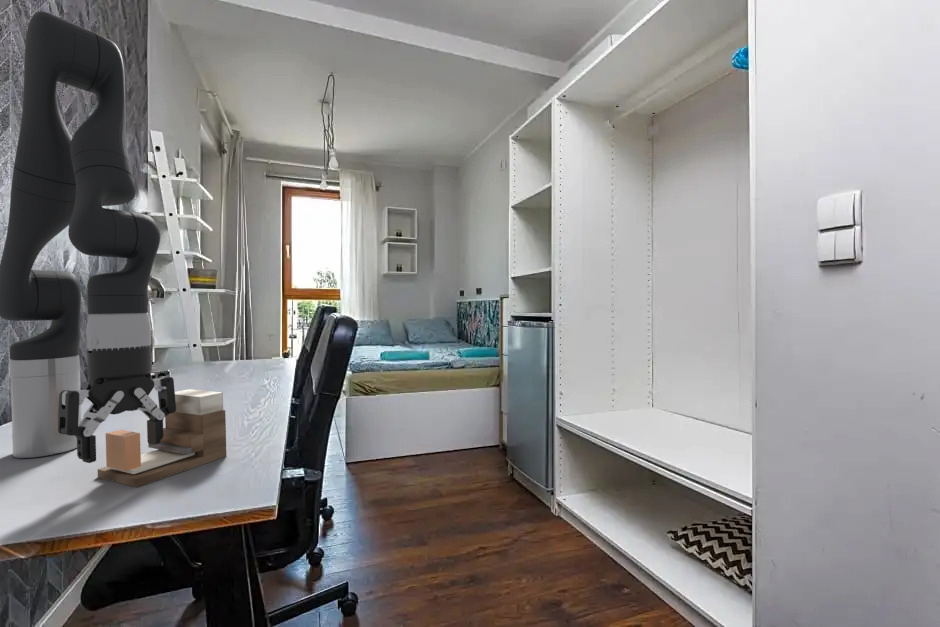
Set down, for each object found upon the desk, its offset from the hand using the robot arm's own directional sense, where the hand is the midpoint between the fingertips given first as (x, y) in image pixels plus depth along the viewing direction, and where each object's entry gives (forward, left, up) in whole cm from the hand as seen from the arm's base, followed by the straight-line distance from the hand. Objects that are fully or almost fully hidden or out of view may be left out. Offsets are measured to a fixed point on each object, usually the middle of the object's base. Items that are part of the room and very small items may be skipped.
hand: (123, 452), depth 66 cm
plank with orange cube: (0, +4, -3) cm, 5 cm away
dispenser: (0, +7, -4) cm, 8 cm away
